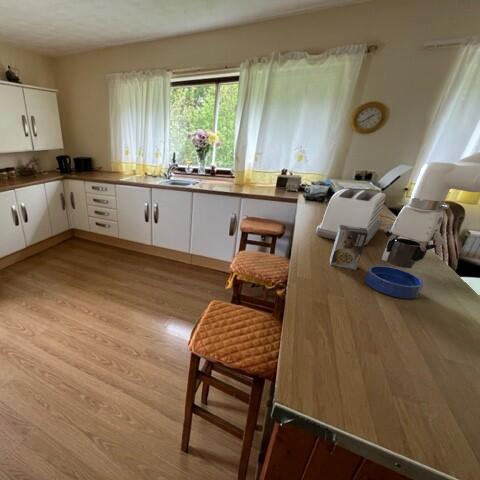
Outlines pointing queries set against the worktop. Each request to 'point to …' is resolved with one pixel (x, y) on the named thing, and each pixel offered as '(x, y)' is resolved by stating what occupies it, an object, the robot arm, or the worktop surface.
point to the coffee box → (348, 246)
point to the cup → (403, 253)
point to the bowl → (393, 282)
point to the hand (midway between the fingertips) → (402, 255)
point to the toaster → (352, 212)
